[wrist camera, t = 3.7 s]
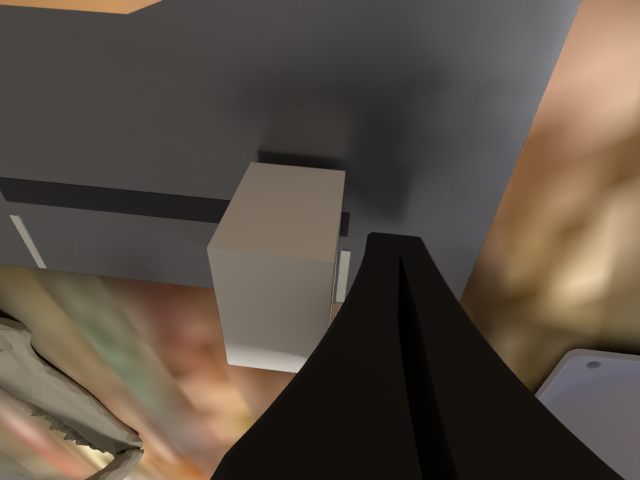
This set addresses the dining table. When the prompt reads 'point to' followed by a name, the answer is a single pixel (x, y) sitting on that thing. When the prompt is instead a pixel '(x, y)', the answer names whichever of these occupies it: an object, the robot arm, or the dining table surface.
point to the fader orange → (85, 4)
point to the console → (262, 123)
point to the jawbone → (64, 403)
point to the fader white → (277, 264)
